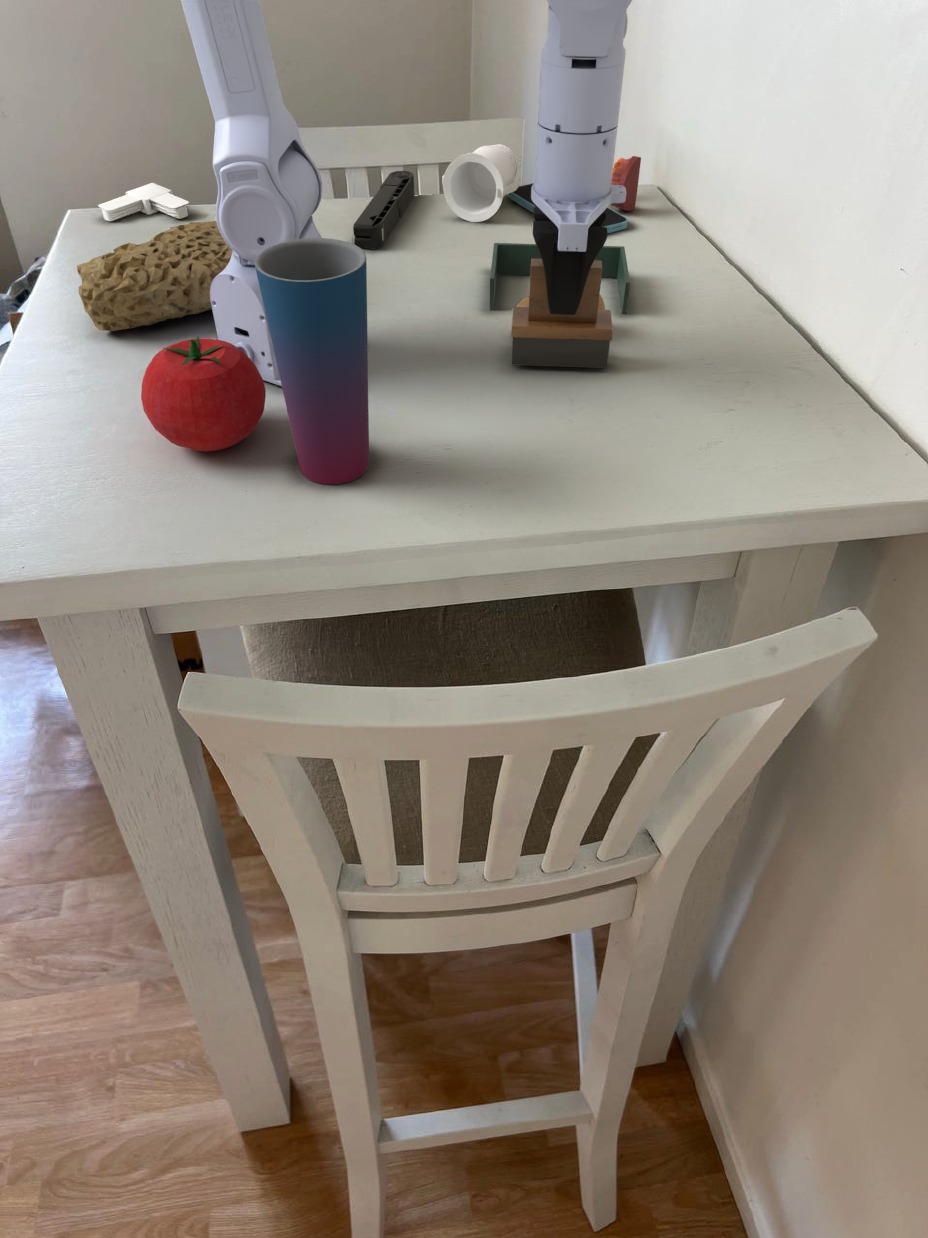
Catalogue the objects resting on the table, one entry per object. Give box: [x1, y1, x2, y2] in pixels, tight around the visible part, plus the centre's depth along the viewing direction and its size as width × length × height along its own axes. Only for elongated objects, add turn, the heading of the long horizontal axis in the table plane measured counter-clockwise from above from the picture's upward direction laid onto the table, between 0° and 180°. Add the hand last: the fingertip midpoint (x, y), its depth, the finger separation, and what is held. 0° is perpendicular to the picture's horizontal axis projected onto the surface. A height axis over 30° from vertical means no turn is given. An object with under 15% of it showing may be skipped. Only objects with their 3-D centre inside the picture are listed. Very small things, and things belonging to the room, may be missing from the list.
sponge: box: [76, 220, 232, 332], centre depth 82 cm, size 13×8×20 cm
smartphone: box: [508, 182, 629, 234], centre depth 102 cm, size 7×1×15 cm
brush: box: [510, 259, 614, 369], centre depth 73 cm, size 4×8×8 cm, turn 86°
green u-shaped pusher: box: [489, 242, 631, 315], centre depth 86 cm, size 12×13×3 cm
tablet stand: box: [352, 170, 415, 250], centre depth 100 cm, size 18×3×3 cm
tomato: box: [140, 336, 267, 452], centre depth 65 cm, size 9×9×8 cm
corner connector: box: [97, 182, 190, 222], centre depth 101 cm, size 8×8×2 cm
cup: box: [255, 237, 370, 485], centre depth 60 cm, size 7×7×15 cm
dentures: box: [609, 155, 642, 212], centre depth 102 cm, size 6×4×8 cm
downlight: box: [441, 143, 520, 223], centre depth 101 cm, size 8×7×10 cm
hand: (562, 306), depth 73 cm, fingers closed on brush, 2 cm apart
